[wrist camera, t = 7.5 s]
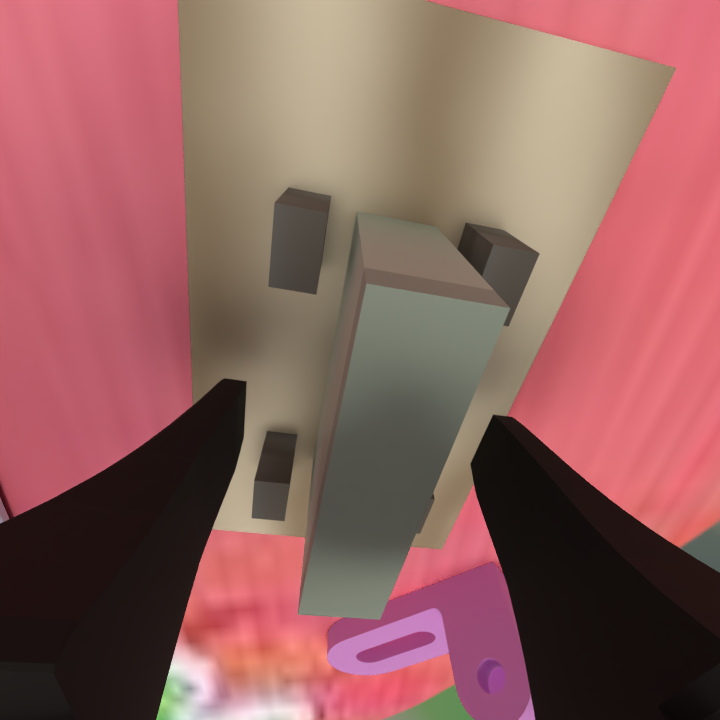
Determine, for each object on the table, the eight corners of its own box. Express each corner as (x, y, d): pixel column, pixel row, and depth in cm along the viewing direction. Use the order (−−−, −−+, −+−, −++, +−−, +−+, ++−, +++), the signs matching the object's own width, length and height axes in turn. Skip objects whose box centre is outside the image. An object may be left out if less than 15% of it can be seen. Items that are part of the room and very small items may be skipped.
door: (313, 459, 16) (297, 614, 11) (356, 211, 11) (366, 283, 6) (369, 466, 16) (379, 619, 11) (436, 226, 11) (510, 308, 6)
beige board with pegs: (203, 509, 19) (177, 581, 16) (191, -49, 9) (116, -134, 6) (437, 531, 21) (453, 600, 18) (649, 72, 11) (770, 51, 8)
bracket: (491, 559, 22) (545, 716, 16) (527, 600, 25) (584, 750, 19) (311, 628, 26) (301, 779, 20) (357, 658, 28) (361, 801, 22)
